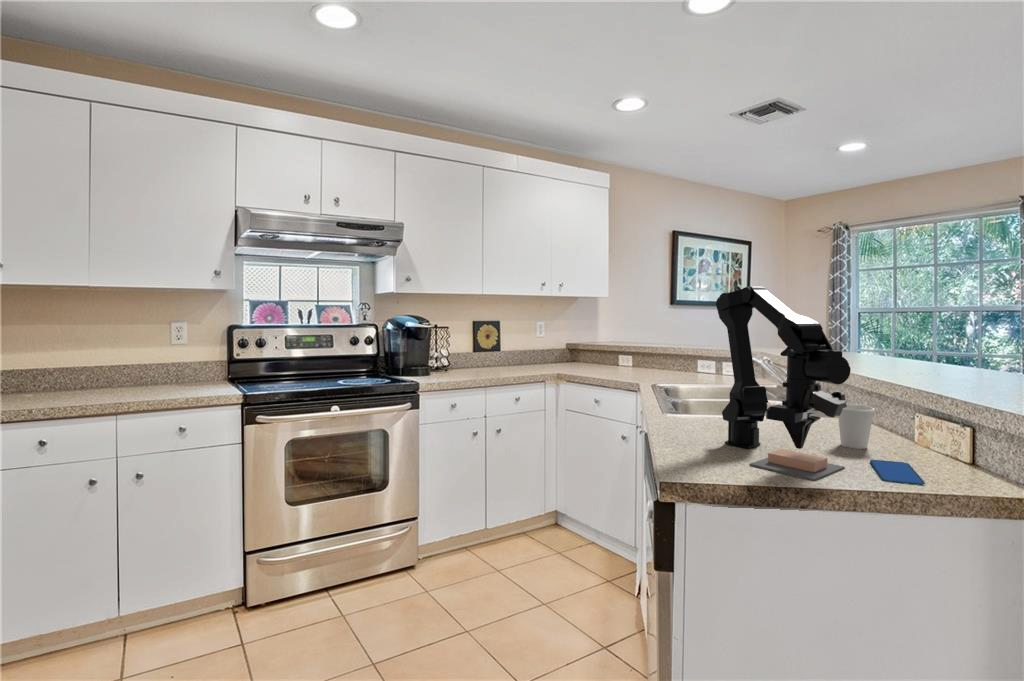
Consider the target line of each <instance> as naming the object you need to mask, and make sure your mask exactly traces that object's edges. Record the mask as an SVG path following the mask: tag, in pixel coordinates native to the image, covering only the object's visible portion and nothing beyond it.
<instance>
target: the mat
mask: <svg viewBox="0 0 1024 681" xmlns="http://www.w3.org/2000/svg"><path fill="white" fill-rule="evenodd" d="M749 466H751V467H755V468H758V469H763V470H768V471H771V472H775V473H779V474H784V475H789V476H792V477H798V478H801V479H804V480H809V481H813V482H815V481H819V480H820V479H824V478H825V477H828V476H831V475H832V474H835V473H837V472H840V471H843V470H845V468H846V466H843V465H840V464H839V465H838V464H832V463H829V462H827V468H824V469H822V470H819V471H817V472H810V471H805V470H801V469H797V468H792V467H788V466H783V465H779V464H775V463H771V462H768V457H765V458H763V459H760V460H757V461H753V462H751V463H749Z"/></svg>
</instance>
